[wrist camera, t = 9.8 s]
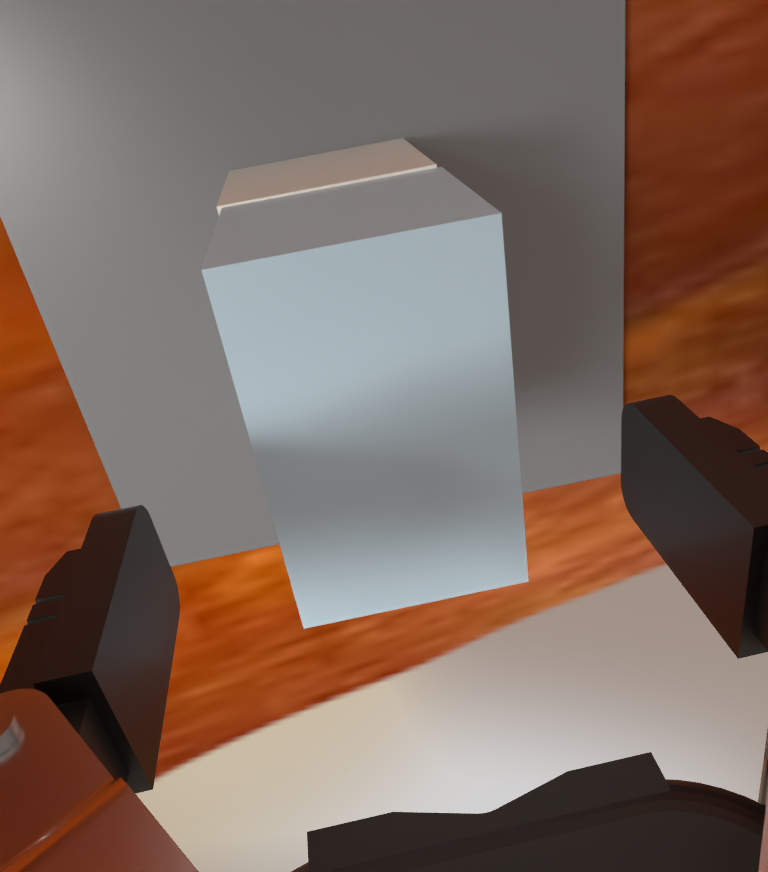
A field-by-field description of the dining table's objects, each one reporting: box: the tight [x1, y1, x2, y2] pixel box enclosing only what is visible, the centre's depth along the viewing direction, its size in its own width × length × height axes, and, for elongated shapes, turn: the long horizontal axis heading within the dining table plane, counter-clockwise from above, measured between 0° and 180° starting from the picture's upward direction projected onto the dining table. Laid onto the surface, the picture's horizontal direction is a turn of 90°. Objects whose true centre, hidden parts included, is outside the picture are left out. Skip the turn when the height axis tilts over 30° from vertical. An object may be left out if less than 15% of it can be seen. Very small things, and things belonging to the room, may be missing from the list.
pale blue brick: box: [202, 167, 529, 629], centre depth 16 cm, size 8×5×5 cm, turn 9°
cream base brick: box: [216, 138, 437, 215], centre depth 20 cm, size 8×5×5 cm, turn 9°
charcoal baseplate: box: [0, 0, 625, 567], centre depth 23 cm, size 18×18×1 cm
